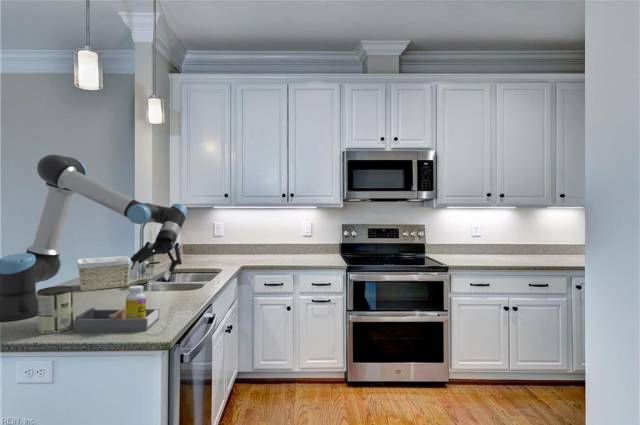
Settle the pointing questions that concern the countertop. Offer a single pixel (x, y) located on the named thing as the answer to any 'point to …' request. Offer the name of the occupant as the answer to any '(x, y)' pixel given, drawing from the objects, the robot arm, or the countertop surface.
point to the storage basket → (103, 272)
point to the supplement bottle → (136, 303)
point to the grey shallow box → (113, 321)
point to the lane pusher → (119, 314)
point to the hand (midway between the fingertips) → (148, 277)
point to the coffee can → (55, 309)
